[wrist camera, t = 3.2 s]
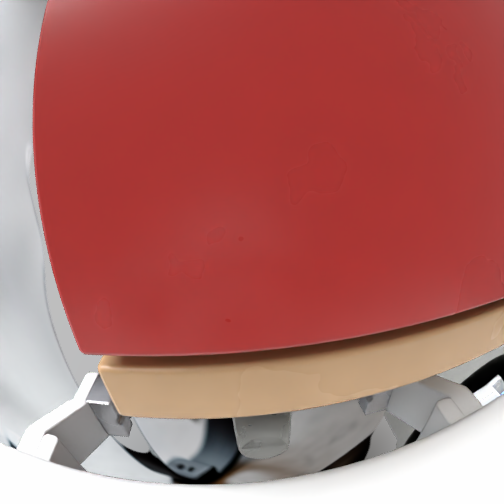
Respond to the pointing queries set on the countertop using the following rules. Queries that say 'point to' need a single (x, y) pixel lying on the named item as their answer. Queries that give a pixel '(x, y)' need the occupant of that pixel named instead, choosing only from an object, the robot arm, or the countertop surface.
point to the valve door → (295, 376)
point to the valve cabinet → (268, 168)
